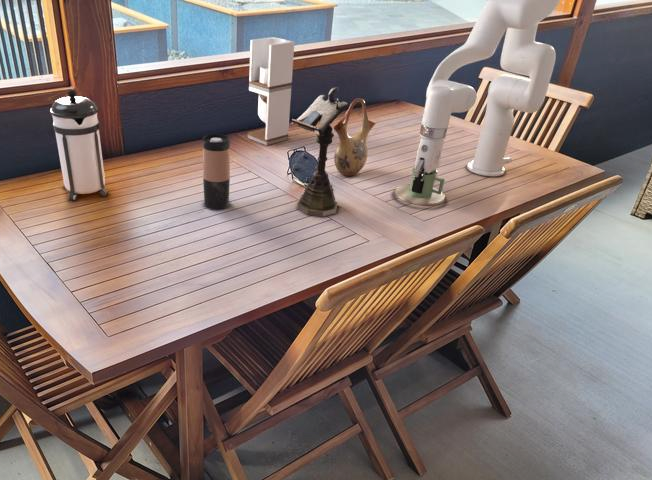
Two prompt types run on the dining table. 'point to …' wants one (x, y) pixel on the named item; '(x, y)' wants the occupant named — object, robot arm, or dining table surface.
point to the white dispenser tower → (271, 86)
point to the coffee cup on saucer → (428, 193)
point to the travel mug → (216, 170)
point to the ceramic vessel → (352, 143)
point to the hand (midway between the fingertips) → (421, 188)
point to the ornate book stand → (320, 154)
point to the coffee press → (79, 145)
